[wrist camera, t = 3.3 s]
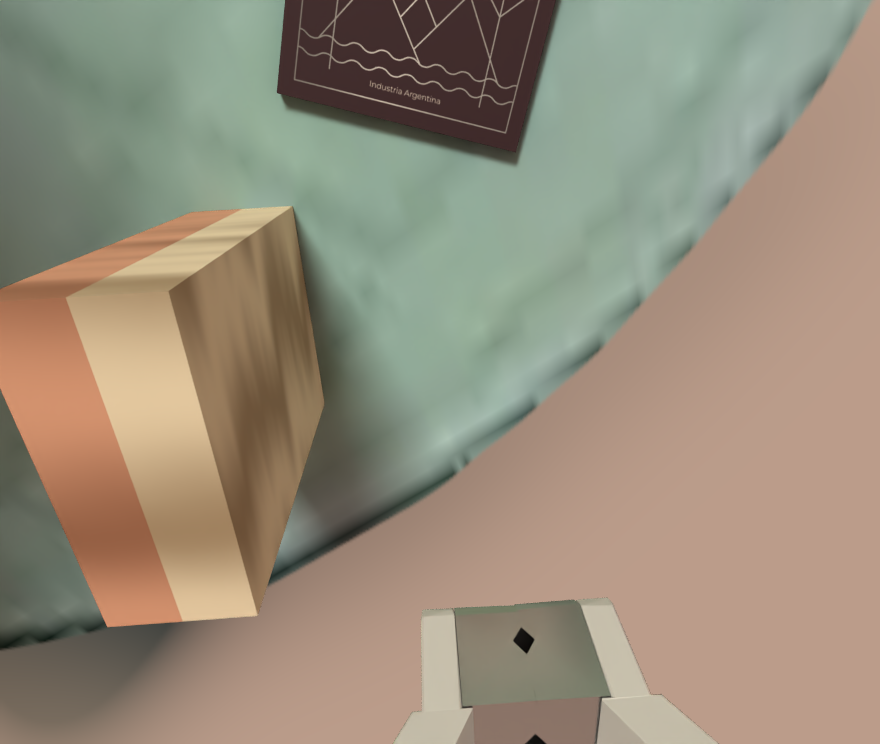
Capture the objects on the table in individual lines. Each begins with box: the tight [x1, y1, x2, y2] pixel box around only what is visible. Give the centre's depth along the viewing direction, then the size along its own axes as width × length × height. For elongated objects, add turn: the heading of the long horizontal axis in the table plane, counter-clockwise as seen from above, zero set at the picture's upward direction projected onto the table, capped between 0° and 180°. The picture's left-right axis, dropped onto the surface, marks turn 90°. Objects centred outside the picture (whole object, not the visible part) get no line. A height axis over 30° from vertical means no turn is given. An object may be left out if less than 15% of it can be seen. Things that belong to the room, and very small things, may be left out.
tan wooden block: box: [0, 206, 325, 627], centre depth 18 cm, size 9×4×12 cm, turn 3°
